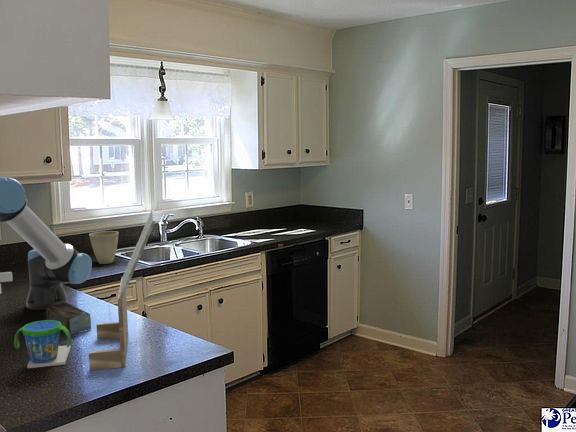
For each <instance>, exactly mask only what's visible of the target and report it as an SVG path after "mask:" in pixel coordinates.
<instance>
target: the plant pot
mask: <svg viewBox="0 0 576 432" xmlns="http://www.w3.org/2000/svg"><path fill="white" fill-rule="evenodd" d="M89 240H90V244H91V248H92V250H93V254H94V255H95V258H96V260H97V262H98V264H100V265H106V264H112V263H114V261H115V257H116V253H117V249H118V243H119V231H113V230H106V231H105V230H104V231H103V230H102V231H95V232H91V233H89Z"/></svg>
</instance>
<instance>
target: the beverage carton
mask: <svg viewBox="0 0 576 432" xmlns="http://www.w3.org/2000/svg"><path fill="white" fill-rule="evenodd" d="M45 317H46V319H45V320H55V321H59V322H61V325H62V326H64V327H66V328H67V329H68V331H69V333H70V335H71V334H72V335H75V334H78V333H77V332H79V333H82V332H81V331H83V332H86V331H85V330H87V331H90V330H89V329H91V330H92V322H91V321H92V320H91V314H90V313H89V312H86V311H85V310H83V309H81V308H78V307H76V306H75V305H72V304H70V303H62V304H57V305H53V306H49V307H46V310H45ZM74 333H75V334H74Z"/></svg>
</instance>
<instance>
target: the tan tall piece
mask: <svg viewBox="0 0 576 432" xmlns="http://www.w3.org/2000/svg"><path fill="white" fill-rule="evenodd" d="M155 213H156V212H155V210H154V209H151V210H150V213H149V215H148V218H147V220H146V222H145V223H144V227H143V229H142V231H141V232H140V233H141V234H140V235H139V239H138V240H137V242H136V245H135V248H134V249H133V252H132V254H131V257H130V259H129V261H128V264H127V265H126V268H125V270H124V273H123V275H122V276H121V279H120V284H119V290H118V295H117V309H118V310H117V312H118V321H114V322H113V321H112V322H111V321H110V322H100V323H96V339H101V340H110V339H109V338H113V339H119V348H115V349H114V348H113V349H105V350H104V349H103V350H94V351H93V350H92V351H89V352H88V362H89V363H88V364H89V371H97V370H98V371H99V370H100V371H101V370H108V369H117V368H125V367H127V366H126V364H127V354H128V343H129V322H128V306H127V305H128V301H127V299H128V298H127V288H128V286H129V284H130V281H131V279H132V277H133V275H134V272H135V270H136V268H137V265H138V263H139V261H140V258H141V256H142V254H143V251H144V249H145V247H146V244H147V243H148V240H149V238H150V235H151V234H152V232H153V231H152V230H153V229H154V227H155V224H156V215H155Z"/></svg>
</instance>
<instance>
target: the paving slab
mask: <svg viewBox="0 0 576 432" xmlns="http://www.w3.org/2000/svg"><path fill="white" fill-rule="evenodd" d="M71 348H72V346H71V344H70V346H69V347H68V348H67V344H66V345H59V346H58V354H57V357H56V358H54V359H53V360H49V361H48V362H44V361H43V362H33V361H31V360H30V359H29V361H28V364H27V366H26V367H27V369H33V368H34V369H35V368H44V367H52V366H53V367H55V366H63V365H66V362H67V359H68V357H69V354H70V351H71Z"/></svg>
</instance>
